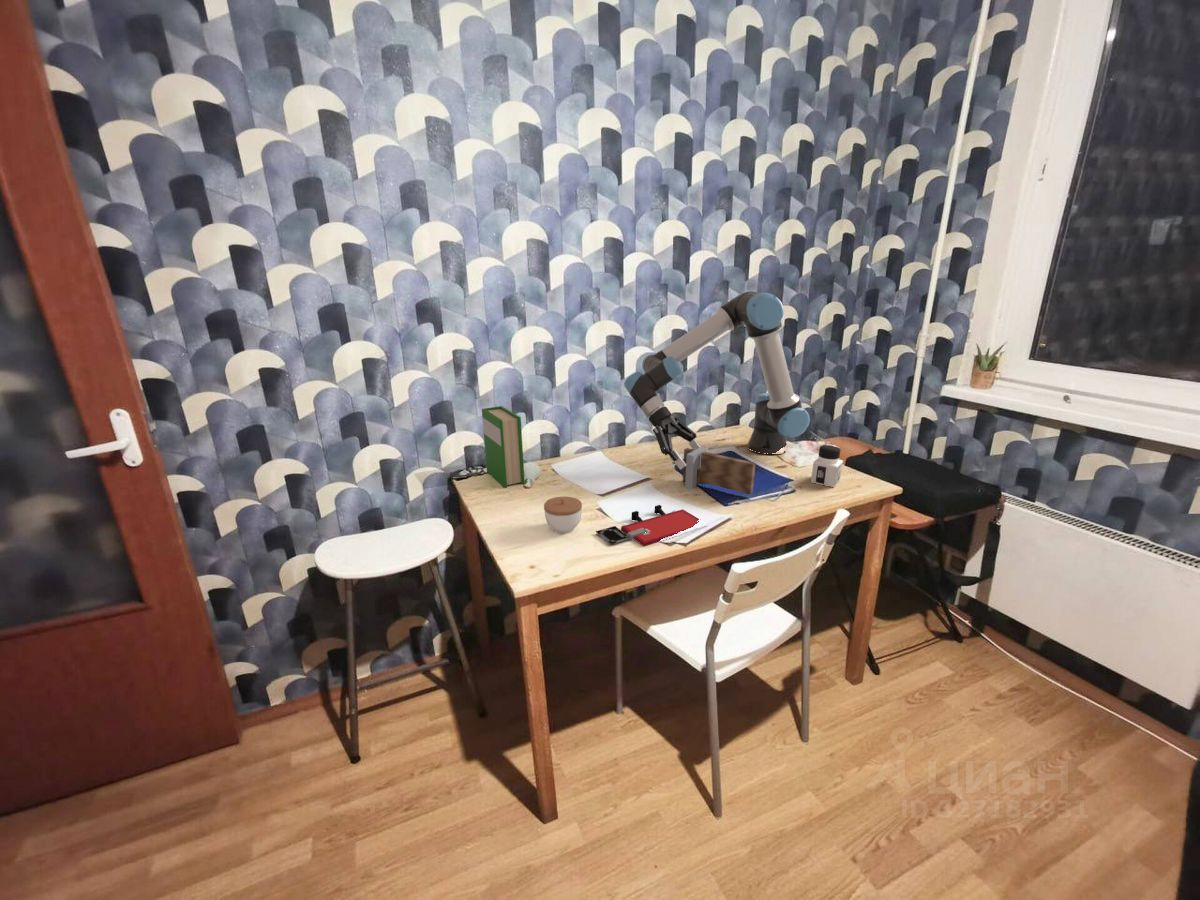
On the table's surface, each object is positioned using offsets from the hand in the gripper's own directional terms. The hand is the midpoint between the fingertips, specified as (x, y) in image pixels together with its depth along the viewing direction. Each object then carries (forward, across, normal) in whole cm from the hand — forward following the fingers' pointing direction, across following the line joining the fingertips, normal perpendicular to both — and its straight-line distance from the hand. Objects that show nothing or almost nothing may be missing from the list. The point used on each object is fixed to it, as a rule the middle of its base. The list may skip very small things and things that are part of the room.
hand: (693, 461), depth 181 cm
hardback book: (-34, +34, -46) cm, 67 cm away
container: (+31, -28, +20) cm, 47 cm away
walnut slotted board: (+12, 0, 0) cm, 12 cm away
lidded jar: (-4, +51, -16) cm, 54 cm away
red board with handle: (+10, +36, -2) cm, 38 cm away
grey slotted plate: (+7, 0, -5) cm, 8 cm away
